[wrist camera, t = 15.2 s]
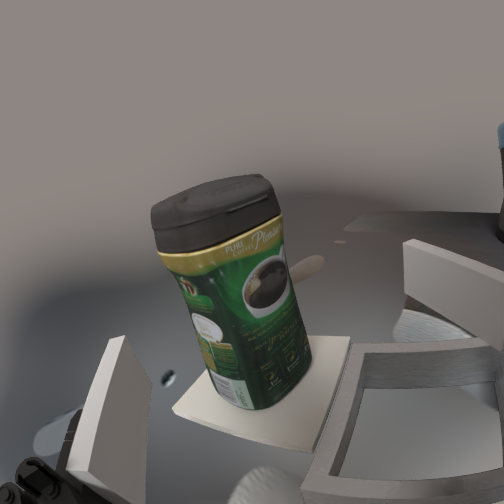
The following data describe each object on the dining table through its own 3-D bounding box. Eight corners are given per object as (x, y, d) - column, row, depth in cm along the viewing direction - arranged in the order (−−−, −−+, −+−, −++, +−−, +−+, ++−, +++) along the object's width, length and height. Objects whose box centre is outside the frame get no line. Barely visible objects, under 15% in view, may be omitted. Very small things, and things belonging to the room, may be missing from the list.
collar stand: (354, 378, 23) (352, 343, 21) (501, 370, 15) (515, 332, 14) (307, 507, 12) (299, 488, 10) (514, 496, 4) (547, 468, 3)
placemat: (241, 336, 34) (239, 330, 34) (350, 343, 28) (350, 336, 27) (175, 414, 23) (171, 408, 23) (313, 453, 16) (311, 448, 16)
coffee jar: (265, 340, 31) (221, 177, 25) (324, 358, 25) (289, 162, 20) (203, 391, 25) (128, 206, 19) (261, 426, 19) (180, 191, 14)
